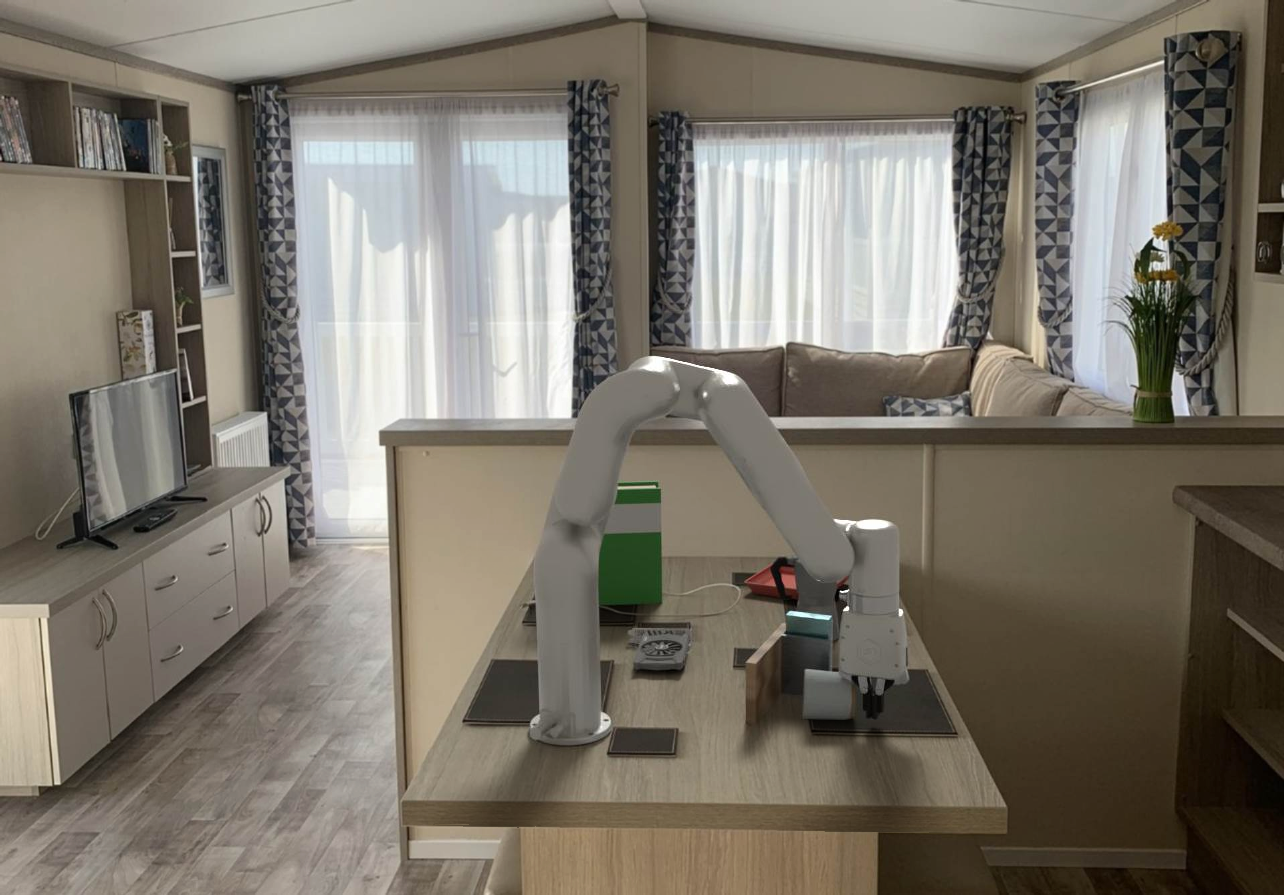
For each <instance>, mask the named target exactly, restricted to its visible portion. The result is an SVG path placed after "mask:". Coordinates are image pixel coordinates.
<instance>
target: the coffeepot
mask: <svg viewBox="0 0 1284 895" xmlns="http://www.w3.org/2000/svg"><path fill="white" fill-rule="evenodd" d="M772 563H773V564H772ZM772 563H771V564H772V565H771V564H770V565H771V568H770V570H771V573H772V576H773V579H774V582H775V584H776V587H777V590H778V593H779V596H780V597H779V599H781V600H783V601H786V600H789V601H790V600H792V599H791V597H792V595H789V594H786V593H785V586H784V584H783V582H782V576H781V572H780V570H779V569H780V568H781V567H793V568H794V575H795V582H796V589H797V593H798V594H799V600H797V606H796V610H795V612H803V613H812V614H821V615H829V616H832V620H833V634H832V642H834V640H835V641H837V640H839V634H840V625H839V619H838V610H837V606H836V605H837V604H836V601H835V595H836V592H837V590H836V588H837V582H838V581H837V582H832V583H826V582H821V581H819V580H817V579H815V578H813V577H812V576H811V575H810V574H809V573H808V572H807V571H806V569H805V568H804V566H803V565H802V563H801V562H800V560H799V559H798V558H797V556H796V555H795V554H794V555H793V556H792V555H791V556H790V555H789V556H778V557H777V558H776V559H775V560H774V561H773V562H772Z"/></svg>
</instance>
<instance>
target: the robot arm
mask: <svg viewBox="0 0 1284 895" xmlns="http://www.w3.org/2000/svg"><path fill="white" fill-rule="evenodd" d="M667 415H670V416H675V417H679V418H683V419H689V420H694V421H700V422H702V423H703V425H704V426H705V429H707V431H708V432H709V434H710V435H711V437H712V439H714V441H715V443H716V444H717V445H718V447H719V448H720V449H721V451H722V452H723V453H724V455H725V456H726V458H727V459H728V461H729V463H730V464H731V465H732V467H733V468H734V469H735V471H736V473H737V474H738V475H739V477H740V479H741V480H742V481H743V483H744V484H745V486H746V487H747V489H748V490H749V491H750V493H751V494H752V496H753V498H754V499H755V501H756V502H757V503H758V504H759V505H760V507H761V508H762V509H763V510H764V511H765V512H764V513H766V514H767V516H768V517H769V518H770V520H771V521H772V523H773V524H774V525H775V527H776V529H777V530H778V532H779V533H780V534H781V536H782V537H783V539H784V540H785V541H786V543H787V545H788V546H789V548H790V549H791V550H792V552H793V554H794V555H796V556H797V558H798V559H799V560H800V562H801V563H802V565H803V566H804V568H805V569H806V571H807V572H808V573H809V574H810V575H811V576H812V577H813V578H815V579H817V580H819V581H821V582H826V583H832V582H837V581H840V580H842V579H844V578H845V577H846V576H847V575H848V574H849V578H848V589H847V590H843V591H842V590H840V591H839V593H838V597H839V600H840V601H841V600H842V601H844V602H846V604H847V606H846V607H844V609H843V610H842V614H841V621H840V625H839V630H840V633H839V638H838V647H837V649H838V650H837V667H838V671H837V672H838V674H839V675H840V676H842V677H844V678H847V679H851V680H852V681H853V682H854V683H855V684H856V687H858V688H859V690H860V691H859V692H860V693H862V711H865V718H866V719H869V720H870V719H871V718H872V720H878V718H879V716H880V714H881V713H882V714H883V713H884V712H885V710H884V709H885V693H886V691H888V690H889V689H890V688H891V687H893V686H894V685H895V686H898V685H906V684H908V682H909V680H910V676H909V671H908V666H909V646H908V645H909V643H908V635H907V634H908V633H907V627H906V626H907V624H906V619H905V615H904V611H903V609H901V608H900V538H901V537H900V531H899V528H898V526H897V525H896V524H895V523H893V522H892V521H888V520H884V519H876V518H875V519H872V518H871V519H863V520H858V521H853V520H845V519H844V520H841V519H835V518H833V516H832V515H831V514H830V512H829V511H828V509H827V507H826V506H825V504H824V503H823V501H822V500H821V498H820V497H819V495H818V493H817V492H816V491H815V489H814V487H813V486H812V483H811V481H810V480H809V478H808V477H807V474H806V472H805V470H804V468H803V465H802V464H801V462H800V461H799V459H798V458H797V456H796V455H795V452H794V451H793V450H792V448H791V447H790V446H789V445H788V443H787V442H786V440H785V438H784V437H783V436H782V434H781V433H780V431H779V430H778V429H777V427H776V425H775V424H774V422H773V421H772V420H771V418H770V417H769V415H768V413H767V412H766V411H765V408H764V407H763V406H762V405H761V404H760V402H759V401H758V399H757V397H756V396H755V394H754V393H753V391H752V390H751V389H750V387H749V386H748V384H747V383H746V381H744V380H743V378H741V376H739V375H737V374H736V373H733V372H730V371H729V372H728V371H725V370H720V369H716V368H711V367H706V366H700V365H698V364H697V365H696V364H693V363H689V362H683V361H679V360H676V359H671V358H666V357H662V356H656V355H650V356H648V355H647V356H644V357H640V358H639V359H636V360H634V362H633V363H631V364H630V365H629V367H628V368H627V370H623V371H620V372H617V373H615V374H613V375H611V376H609V377H607V378H606V379H605V380H603V381H602V382H600V383H599V384H598V385H597V386H596V387H594V389H593V390H592V391H591V392H589V394H588V396H587V397H586V399H585V401H583V403H582V406H581V408H580V410H579V413H578V416H577V418H576V421H575V425H574V428H573V431H572V435H571V437H570V440H569V443H568V447H567V452H566V455H565V457H564V462H563V464H562V465H561V466H560V468H559V471H558V474H557V476H556V479H555V482H554V484H555V485H554V488H553V492H552V496H551V499H550V502H549V506H548V511H547V513H546V514H547V515H546V517H545V522H544V524H543V528H542V533H541V536H540V540H539V543H538V544H537V549H536V551H535V555H534V560H533V572H532V573H533V577H532V578H533V588H534V590H533V591H534V598H535V599H534V600H535V614H536V615H535V617H536V640H537V642H536V644H537V665H538V666H537V672H538V676H537V677H538V702H539V703H538V704H539V708H538V710H539V714H537V715H535V716H534V717H533V718H532V719H531V720H530V723H529V736H530V737H531V739H533V740H535V741H537V740H538V741H540V742H541V743H546V744H550V745H554V746H556V745H557V746H579V745H585V744H590V743H593V742H596V741H599V740H601V739H603V738H605V737H606V736H608V734H609V733H610V732H611V731H612V725H613V724H612V718H611V717H610V716H609V715H608V714H606V713H605V712H603V711H602V693H601V692H602V686H601V685H602V683H601V640H600V639H601V635H600V632H601V631H600V608H599V607H600V605H599V599H598V565H599V552H600V548H601V543H602V539H603V536H604V532H605V529H606V525H607V521H608V518H609V514H610V511H611V509H612V507H613V505H614V503H615V500H616V496H617V489H618V482H620V481H619V480H620V476H621V473H622V469H623V466H624V461H625V457H626V456H627V453H628V449H629V447H630V443H631V441H632V437H633V435H634V434H635V432H636V430H637V429H638V428H639V427H640V426H641V425H643V424H645V423H647V422H651V421H655V420H660V419H662V418H664V417H666V416H667ZM872 679H876V682H875V683H876V684H875V687H874V686H873V684H872V683H873V682H872Z"/></svg>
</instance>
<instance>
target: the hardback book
mask: <svg viewBox="0 0 1284 895" xmlns="http://www.w3.org/2000/svg"><path fill="white" fill-rule="evenodd" d="M661 491H662V488H661V487H659V480H641V481H640V480H636V481H635V480H634V481H633V480H632V481H618V489H617V496H616V500H615V503H614V505H613V507H612V509H611V511H610V514H609V518H608V521H607V525H606V529H605V532H604V536H603V539H602V543H601V548H600V552H599V565H598V599H599V604H600V605H599V606H619V605H647V604H649V605H651V604H652V605H653V604H663V575H662V574H663V567H662V566H663V565H662V564H663V558H662V557H663V554H662V553H663V552H662V550H663V549H662V548H663V546H662V545H663V544H662V492H661Z"/></svg>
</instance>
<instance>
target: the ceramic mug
mask: <svg viewBox="0 0 1284 895" xmlns="http://www.w3.org/2000/svg"><path fill="white" fill-rule="evenodd" d="M838 672H839V671H832V672H830V671H821V670H811V669H805V671H804V685H803V696H802V719H804V720H839V721H840V720H841V721H842V720H843V721H845V720H849V719H850V720H851V719H852V718H854V717H855V714H856V713H855V712H856V699H857V690H856V688H857V685H856V684H855V683H854V682H853V681H852V680H851V679H847V678H844V677H842V676H840V675H839V674H838Z"/></svg>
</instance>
